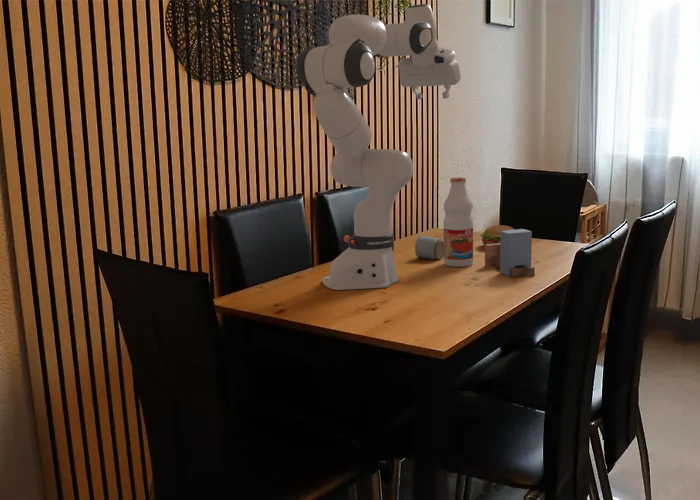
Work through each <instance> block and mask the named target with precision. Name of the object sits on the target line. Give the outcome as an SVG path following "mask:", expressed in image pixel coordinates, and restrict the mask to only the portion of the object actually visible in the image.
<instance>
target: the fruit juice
mask: <svg viewBox="0 0 700 500" xmlns="http://www.w3.org/2000/svg"><path fill="white" fill-rule="evenodd" d="M466 181H467V179H466V177H464V176H463V177H457V176H456V177H451V178H450V181H449V182H450V184H451V186H450V190H449V193H448V195H447V197H446V199H445V201H444V203H443V210H444V213H445V214H444V215H445V216H444V219H443V242H444V256H443V262H444V265H445V266H448V267H453V268H464V267H469V266H472V265H473V262H474V218H473V216H472V211H473V207H474V206H473V205H474V204H473V202H472V199H471V198H470V196H469V194H468V191H467V188H466V183H467V182H466Z"/></svg>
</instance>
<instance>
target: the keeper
mask: <svg viewBox="0 0 700 500" xmlns="http://www.w3.org/2000/svg"><path fill="white" fill-rule="evenodd" d="M532 233H533V232H532V230H528V229H524V228H519V229H518V228H517V229H514V230H506V231H501V244H500V269H499V272H500V274H503V275H506V276H508V277H511V269H514V267H515V266H520V265H521V266H524V267H532V246H533V245H532V242H533V241H532V237H533V236H532V235H533V234H532Z"/></svg>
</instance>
